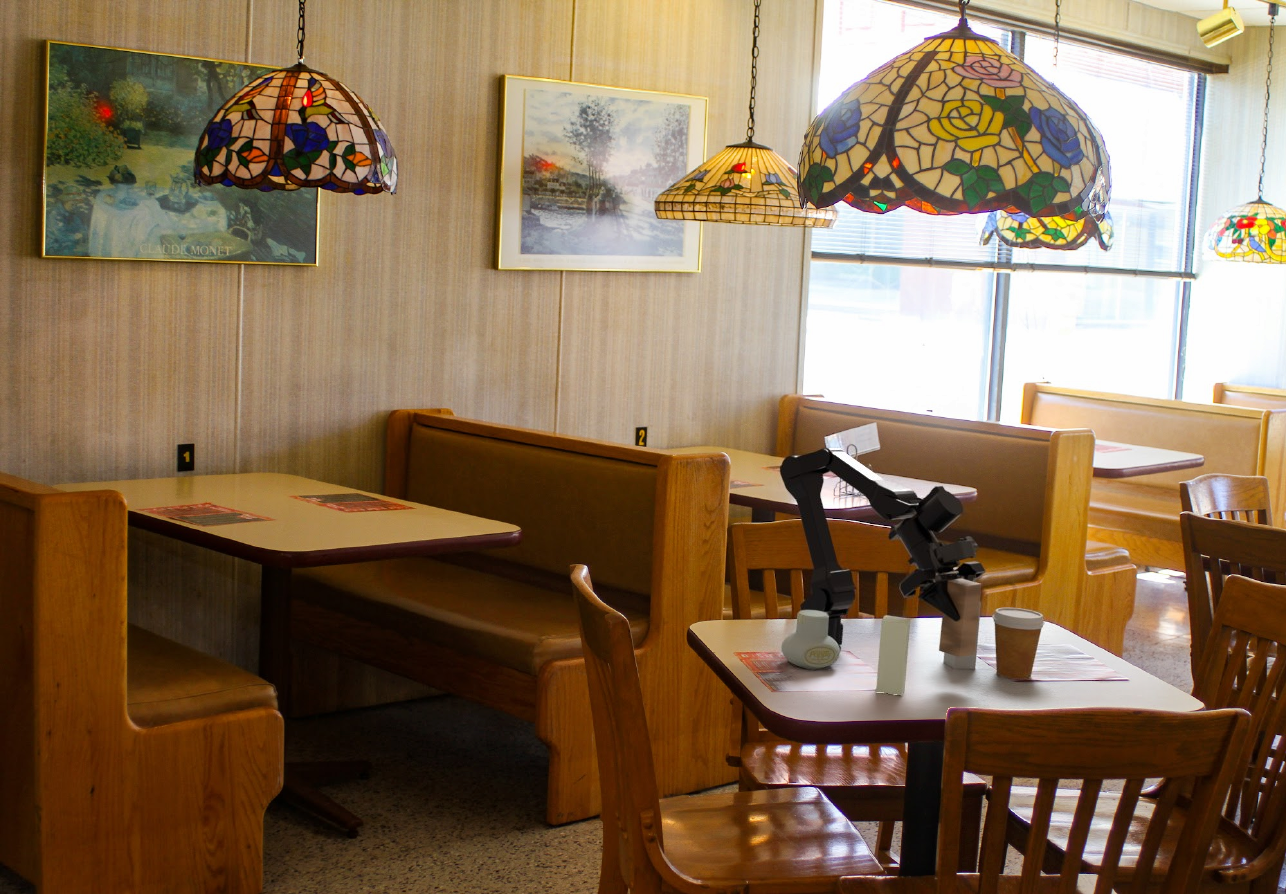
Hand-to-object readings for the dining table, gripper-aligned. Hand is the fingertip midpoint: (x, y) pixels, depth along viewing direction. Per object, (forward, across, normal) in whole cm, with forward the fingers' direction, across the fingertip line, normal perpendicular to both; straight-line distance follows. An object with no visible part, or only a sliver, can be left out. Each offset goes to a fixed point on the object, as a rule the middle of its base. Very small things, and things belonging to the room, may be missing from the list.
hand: (966, 618), depth 227 cm
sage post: (+6, -13, +13) cm, 19 cm away
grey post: (+2, +14, +16) cm, 21 cm away
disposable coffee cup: (+9, +18, +10) cm, 22 cm away
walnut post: (+4, 0, +6) cm, 7 cm away
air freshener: (-8, -13, +27) cm, 31 cm away
